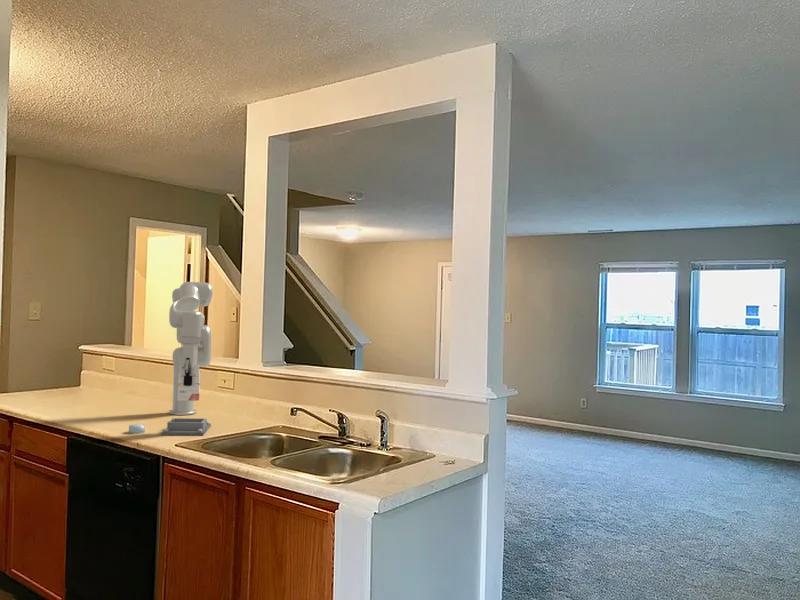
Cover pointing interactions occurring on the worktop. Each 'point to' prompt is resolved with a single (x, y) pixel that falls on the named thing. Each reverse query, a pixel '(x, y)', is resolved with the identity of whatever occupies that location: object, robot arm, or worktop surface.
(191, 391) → the ink cartridge box
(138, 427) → the pale blue dome
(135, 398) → the worktop surface
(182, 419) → the chassis plate
